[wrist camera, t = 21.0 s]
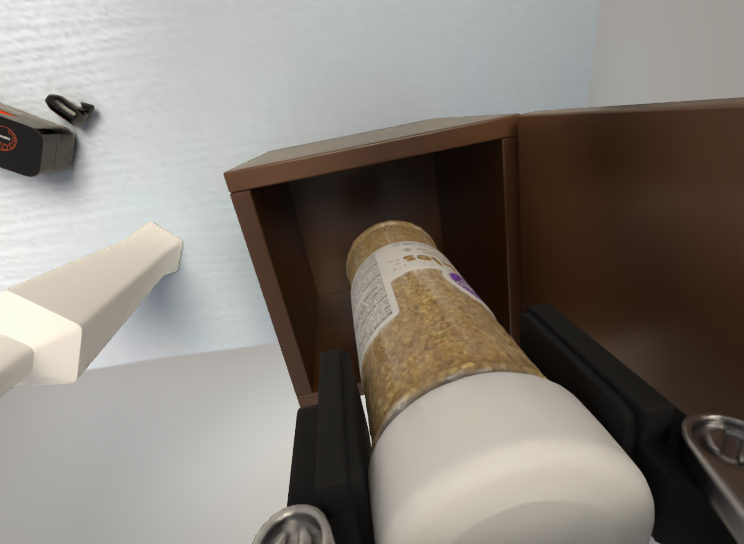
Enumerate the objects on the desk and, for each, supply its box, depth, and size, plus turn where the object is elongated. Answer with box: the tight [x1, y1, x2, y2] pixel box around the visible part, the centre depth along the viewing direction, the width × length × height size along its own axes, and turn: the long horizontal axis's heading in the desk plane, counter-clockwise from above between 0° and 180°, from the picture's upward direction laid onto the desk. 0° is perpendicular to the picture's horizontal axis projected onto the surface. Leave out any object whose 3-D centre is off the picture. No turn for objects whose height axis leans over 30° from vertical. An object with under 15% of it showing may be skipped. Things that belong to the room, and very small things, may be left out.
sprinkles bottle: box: [346, 220, 655, 544], centre depth 12 cm, size 5×5×14 cm
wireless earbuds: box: [0, 94, 94, 177], centre depth 21 cm, size 5×7×3 cm, turn 67°
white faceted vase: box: [0, 222, 183, 398], centre depth 19 cm, size 5×4×15 cm
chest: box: [224, 114, 523, 408], centre depth 22 cm, size 12×12×12 cm
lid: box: [518, 97, 744, 419], centre depth 10 cm, size 12×12×6 cm
